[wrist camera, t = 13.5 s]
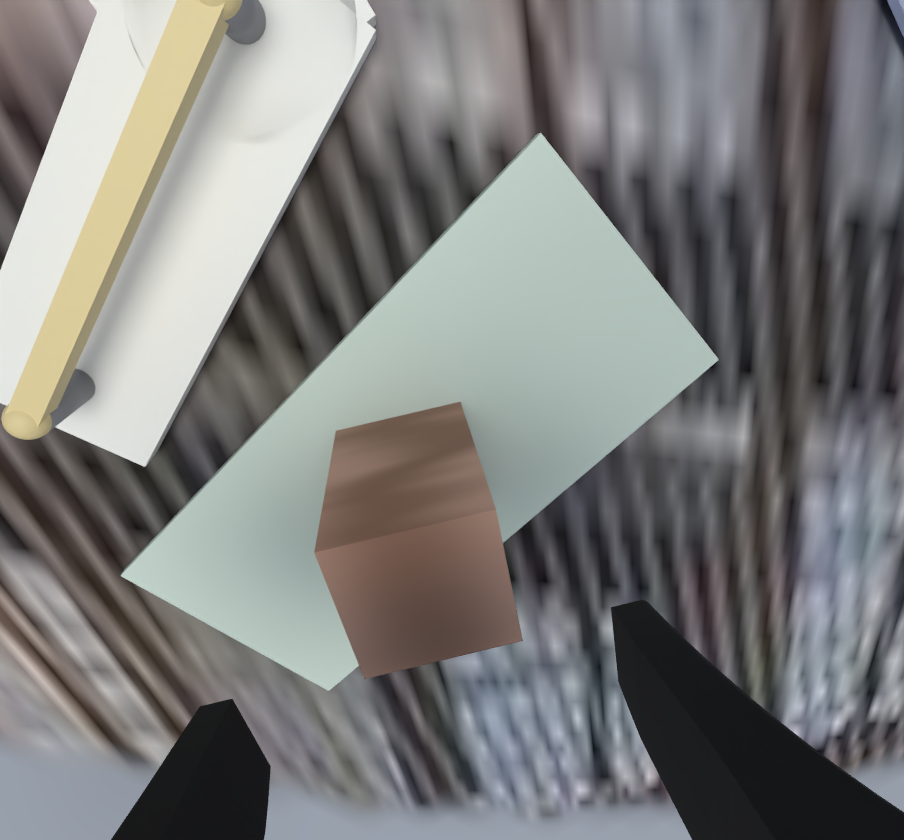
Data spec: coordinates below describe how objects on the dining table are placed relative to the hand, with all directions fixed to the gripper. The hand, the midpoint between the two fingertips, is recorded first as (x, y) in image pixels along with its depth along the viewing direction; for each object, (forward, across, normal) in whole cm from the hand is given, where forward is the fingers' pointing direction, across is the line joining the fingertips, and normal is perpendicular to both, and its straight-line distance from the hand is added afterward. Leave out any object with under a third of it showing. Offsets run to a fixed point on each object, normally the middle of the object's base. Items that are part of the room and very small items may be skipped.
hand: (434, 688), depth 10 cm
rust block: (+8, 0, 0) cm, 9 cm away
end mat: (+9, 0, 0) cm, 9 cm away
